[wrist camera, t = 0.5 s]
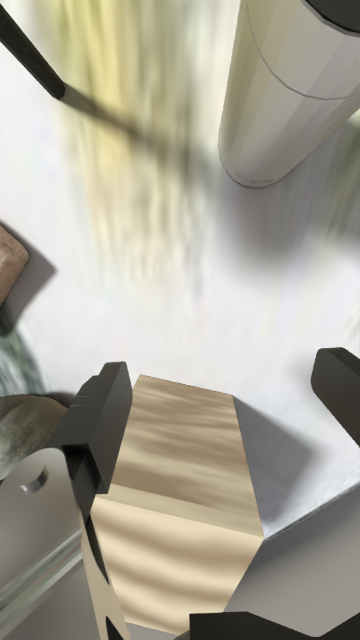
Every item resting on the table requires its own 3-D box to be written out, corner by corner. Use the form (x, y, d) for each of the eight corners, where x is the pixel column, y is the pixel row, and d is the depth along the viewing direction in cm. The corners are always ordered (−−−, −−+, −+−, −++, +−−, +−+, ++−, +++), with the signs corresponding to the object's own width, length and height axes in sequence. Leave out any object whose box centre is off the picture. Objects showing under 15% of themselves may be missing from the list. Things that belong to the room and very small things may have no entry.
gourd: (-69, 416, 37) (-252, 547, 20) (36, 340, 34) (-74, 419, 18) (38, 487, 44) (-31, 623, 28) (129, 429, 42) (112, 540, 26)
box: (139, 374, 33) (81, 493, 17) (232, 395, 32) (264, 537, 16) (126, 462, 39) (75, 608, 23) (202, 480, 39) (205, 641, 23)
